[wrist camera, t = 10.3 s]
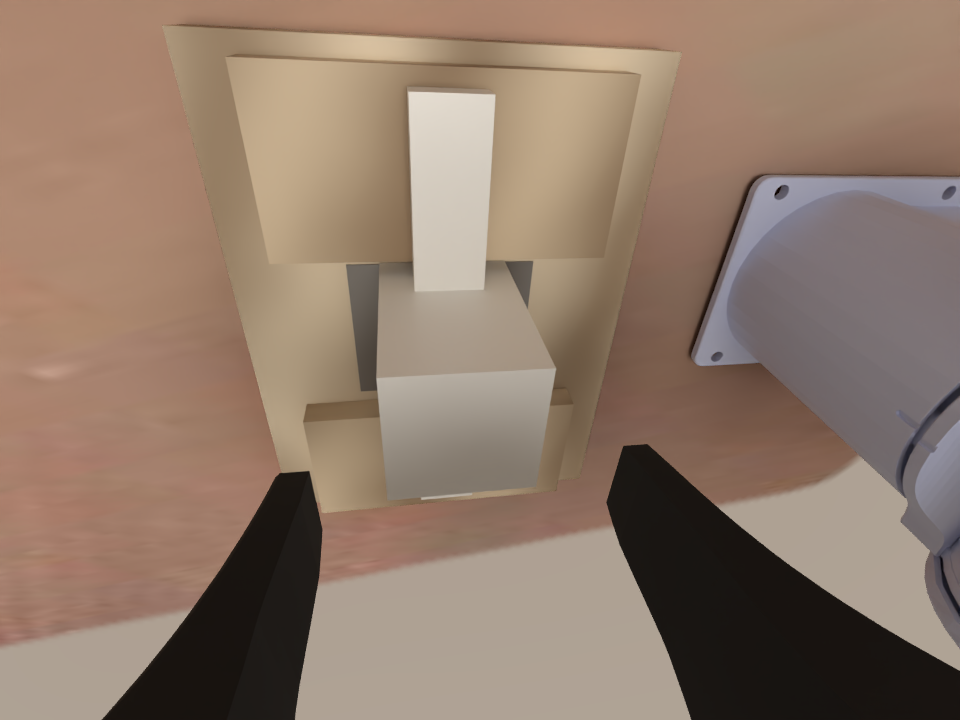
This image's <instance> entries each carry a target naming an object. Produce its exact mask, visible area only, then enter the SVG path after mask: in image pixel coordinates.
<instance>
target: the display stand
mask: <svg viewBox="0 0 960 720" xmlns="http://www.w3.org/2000/svg"><path fill="white" fill-rule="evenodd" d="M162 28H163V31H164V35H165V39H166V43H167V46H168V50H169V54H170V58H171V61H172V65H173V69H174V72H175V76H176V80H177V84H178V87H179V91H180V95H181V99H182V102H183V106H184V110H185V114H186V117H187V121H188V125H189V129H190V132H191V136H192V140H193V144H194V147H195V151H196V155H197V158H198V162H199V166H200V170H201V173H202V177H203V181H204V185H205V188H206V192H207V196H208V200H209V203H210V207H211V211H212V215H213V218H214V222H215V226H216V229H217V233H218V237H219V241H220V244H221V248H222V252H223V256H224V259H225V263H226V267H227V271H228V274H229V278H230V282H231V286H232V289H233V293H234V297H235V301H236V304H237V308H238V312H239V315H240V319H241V323H242V327H243V330H244V334H245V338H246V342H247V345H248V349H249V353H250V357H251V360H252V364H253V368H254V372H255V375H256V379H257V383H258V387H259V390H260V394H261V398H262V401H263V405H264V409H265V413H266V416H267V420H268V424H269V428H270V431H271V435H272V439H273V443H274V446H275V450H276V454H277V458H278V461H279V465H280V469H281V472H282V473H289V472H302V471H310V476H311V480H312V485H313V489H314V494H315V498H316V502H320V505H321V509H322V513H328V512H339V511H350V510H360V509H371V508H381V507H392V506H402V505H413V504H423V503H434V502H445V501H455V500H466V499H476V498H487V497H497V496H508V495H518V494H529V493H540V492H550V491H556V489H557V484H558V480H567V479H578V478H580V474H581V470H582V466H583V461H584V457H585V453H586V449H587V445H588V441H589V436H590V432H591V428H592V424H593V420H594V416H595V411H596V407H597V403H598V399H599V395H600V391H601V386H602V382H603V378H604V374H605V370H606V366H607V362H608V357H609V353H610V349H611V345H612V341H613V337H614V332H615V328H616V324H617V320H618V316H619V312H620V307H621V303H622V299H623V295H624V291H625V287H626V282H627V278H628V274H629V270H630V266H631V262H632V257H633V253H634V249H635V245H636V241H637V237H638V233H639V228H640V224H641V220H642V216H643V212H644V208H645V203H646V199H647V195H648V191H649V187H650V183H651V178H652V174H653V170H654V166H655V162H656V158H657V153H658V149H659V145H660V141H661V137H662V133H663V128H664V124H665V120H666V116H667V112H668V108H669V103H670V99H671V95H672V91H673V87H674V83H675V79H676V74H677V70H678V66H679V62H680V58H681V54H682V52H678V51H670V50H662V49H649V48H630V47H610V46H591V45H572V44H553V43H533V42H514V41H495V40H476V39H456V38H437V37H418V36H399V35H379V34H360V33H341V32H322V31H303V30H283V29H264V28H245V27H226V26H206V25H187V24H180V25H162ZM407 86H412V87H439V88H467V89H489V90H490V91H491V92H493V93H494V94H495V95H496V96H495V113H494V130H493V147H492V164H491V181H490V198H489V215H488V232H487V250H486V261H505V263H506V265H507V267H508V269H509V271H510V273H511V276H512V278H513V280H514V282H515V284H516V286H517V288H518V290H519V292H520V294H521V296H522V298H523V301H524V303H525V305H526V307H527V309H528V311H529V313H530V315H531V317H532V319H533V321H534V323H535V326H536V328H537V330H538V332H539V334H540V336H541V338H542V340H543V342H544V344H545V346H546V348H547V350H548V353H549V355H550V357H551V359H552V361H553V363H554V365H555V367H556V372H555V378H554V384H553V390H552V396H551V401H550V407H549V413H548V419H547V425H546V431H545V437H544V443H543V449H542V455H541V461H540V467H539V472H538V478H537V484H536V487H529V488H518V489H507V490H497V491H486V492H475V493H472V495H469V496H458V497H448V498H437V499H426V500H421V498H410V499H399V500H387V490H386V479H385V468H384V457H383V446H382V435H381V424H380V413H379V402H378V391H377V380H376V372H377V335H378V299H379V263H413V259H412V229H411V198H410V167H409V137H408V106H407Z"/></svg>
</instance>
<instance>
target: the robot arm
mask: <svg viewBox="0 0 960 720" xmlns="http://www.w3.org/2000/svg"><path fill="white" fill-rule="evenodd" d="M781 185H782V187H781V190H780V192H779V193H778V194H777V195H776V196H774V195H775V191H776V190H777V188H779V187H780V186H781ZM716 352H717V353H716ZM714 353H716V354H715V355H714V356H712V355H713V354H714ZM691 358H692V360H693V361H694V362H695V363H696V364H697V365H698V366H713V365H731V364H749V363H761V364H762V365H763V366H764V367H765V368H766V369H767V370H768V371H769V372H770V373H772V374H773V375H774V376H775V377H776V378H777V379H778V380H779V381H780V382H781V383H782V384H783V385H784V386H785V387H787V388H788V389H789V390H790V391H791V392H792V393H793V394H794V395H795V396H796V397H797V398H798V399H799V400H801V401H802V402H803V403H804V404H805V405H806V406H807V407H808V408H809V409H810V410H811V411H812V412H813V413H814V414H816V415H817V416H818V417H819V418H820V419H821V420H822V421H823V422H824V423H825V424H826V425H827V426H828V427H830V428H831V429H832V430H833V431H834V432H835V433H836V434H837V435H838V436H839V437H840V438H841V439H842V440H844V441H845V442H846V443H847V444H848V445H849V446H850V447H851V448H852V449H853V450H854V451H855V452H856V453H857V454H859V455H860V456H861V457H862V458H863V459H864V460H865V461H866V462H867V463H868V464H869V465H870V466H871V467H873V468H874V469H875V470H876V471H877V472H878V473H879V474H880V475H881V476H882V477H883V478H884V479H885V480H886V481H888V482H889V483H890V484H891V485H892V486H893V487H894V488H895V489H896V490H897V491H898V492H899V493H900V494H902V495H903V496H904V497H905V498H907V501H908V507H907V509H906V511H905V513H904V515H903V516H902V518H901V523H902V524H903V525H904V526H905V527H907V529H909V531H911V532H912V533H913V534H914V535H915V536H916V537H917V538H918V539H919V540H920V541H921V542H922V543H923V544H924V545H925V546H926V547H927V548H928V549H929V550H930V553H929V556H928V558H927V561H926V565H925V582H926V588H927V593H928V595H929V598H930V600H931V603H932V605H933V608H934V610H935V612H936V614H937V615H938V617H939V619H940V621H941V622H942V624H943V626H944V628H945V629H946V631H947V632H948V633H949V635H950V636H951V637H952V639H953V640H954V641H955V643H956V644H957V646H958V647H959V648H960V177H936V176H832V175H765V176H762V177H760V178H759V179H757V180H756V181H755V182H754V183H753V185H752V187H751V189H750V191H749V194H748V197H747V199H746V202H745V205H744V208H743V211H742V213H741V216H740V219H739V222H738V225H737V227H736V230H735V233H734V236H733V239H732V241H731V244H730V247H729V250H728V253H727V255H726V258H725V261H724V264H723V267H722V270H721V272H720V275H719V278H718V281H717V284H716V286H715V289H714V292H713V295H712V298H711V300H710V303H709V306H708V309H707V312H706V314H705V317H704V320H703V323H702V326H701V328H700V331H699V334H698V337H697V340H696V343H695V345H694V348H693V351H692V354H691ZM606 503H607V506H608V509H609V513H610V516H611V519H612V523H613V526H614V529H615V532H616V535H617V538H618V541H619V544H620V546H621V548H622V551H623V553H624V555H625V558H626V559H627V562H628V564H629V566H630V569H631V571H632V573H633V575H634V578H635V580H636V582H637V584H638V586H639V588H640V591H641V593H642V595H643V597H644V599H645V601H646V604H647V606H648V608H649V610H650V612H651V615H652V617H653V619H654V621H655V623H656V626H657V628H658V630H659V632H660V634H661V637H662V639H663V642H664V644H665V646H666V649H667V651H668V654H669V656H670V659H671V662H672V665H673V668H674V670H675V673H676V676H677V679H678V682H679V685H680V687H681V690H682V693H683V696H684V699H685V702H686V705H687V708H688V711H689V714H690V717H691V720H960V671H959V670H957V669H955V668H953V667H952V666H950V665H948V664H946V663H944V662H943V661H941V660H939V659H937V658H936V657H934V656H932V655H930V654H928V653H927V652H925V651H923V650H921V649H919V648H918V647H916V646H914V645H912V644H910V643H909V642H907V641H905V640H904V639H902V638H900V637H899V636H897V635H895V634H894V633H892V632H890V631H888V630H887V629H885V628H883V627H881V626H880V625H879V624H877V623H875V622H874V621H872V620H871V619H869V618H867V617H866V616H864V615H863V614H861V613H859V612H858V611H856V610H855V609H853V608H852V607H850V606H848V605H847V604H845V603H843V602H842V601H841V600H839V599H837V598H836V597H834V596H833V595H832V594H830V593H828V592H827V591H826V590H824V589H822V588H821V587H820V586H818V585H817V584H815V583H814V582H813V581H811V580H810V579H808V578H807V577H806V576H804V575H803V574H801V573H800V572H798V571H797V570H796V569H794V568H793V567H791V566H790V565H789V564H787V563H786V562H784V561H783V560H782V559H781V558H779V557H778V556H776V555H775V554H774V553H772V552H771V551H770V550H769V549H767V548H766V547H765V546H764V545H763V544H761V543H760V542H759V541H757V540H756V539H755V538H754V537H752V536H751V535H750V534H749V533H747V532H746V531H745V530H744V529H742V528H741V527H740V526H739V525H738V524H736V523H735V522H734V521H733V520H732V519H730V518H729V517H728V516H727V515H726V514H725V513H723V512H722V511H721V510H720V509H719V508H718V507H717V506H715V505H714V504H713V503H712V502H711V501H710V500H708V499H707V498H706V497H705V496H704V495H703V494H702V493H701V492H700V491H698V490H697V489H696V488H695V487H694V486H693V485H692V484H691V483H690V482H688V481H687V480H686V479H685V478H684V477H683V476H682V475H681V474H680V473H679V472H677V471H676V470H675V469H674V468H673V467H672V466H671V465H670V464H669V463H668V462H667V461H665V460H664V459H663V458H662V457H661V456H660V455H659V454H658V453H657V452H656V451H654V450H653V449H652V448H651V447H650V446H649V445H648V444H644V445H631V446H623V449H622V452H621V456H620V459H619V462H618V466H617V469H616V472H615V476H614V479H613V482H612V486H611V489H610V492H609V496H608V499H607V502H606ZM321 544H322V526H321V521H320V517H319V512H318V508H317V503H316V498H315V494H314V489H313V485H312V480H311V476H310V471H302V472H289V473H280V474H279V475H278V476H276V477H275V479H274V481H273V483H272V485H271V487H270V489H269V491H268V492H267V494H266V496H265V498H264V500H263V501H262V503H261V505H260V507H259V508H258V510H257V512H256V514H255V515H254V517H253V519H252V520H251V522H250V524H249V525H248V527H247V529H246V530H245V532H244V534H243V535H242V537H241V538H240V540H239V541H238V543H237V544H236V546H235V548H234V549H233V551H232V552H231V554H230V555H229V557H228V558H227V560H226V562H225V563H224V565H223V566H222V568H221V569H220V571H219V572H218V574H217V575H216V576H215V578H214V579H213V581H212V582H211V584H210V585H209V586H208V588H207V589H206V591H205V592H204V593H203V595H202V596H201V598H200V599H199V600H198V602H197V603H196V605H195V606H194V607H193V609H192V610H191V612H190V613H189V614H188V616H187V617H186V618H185V620H184V621H183V623H182V624H181V625H180V626H179V628H178V629H177V631H176V632H175V633H174V634H173V635H172V637H171V638H170V639H169V641H168V642H167V643H166V644H165V646H164V647H163V648H162V649H161V651H160V652H159V653H158V654H157V656H156V657H155V658H154V659H153V661H152V662H151V663H150V664H149V665H148V667H147V668H146V669H145V671H144V672H143V673H142V674H141V675H140V676H139V677H138V679H137V680H136V681H135V682H134V683H133V684H132V686H131V687H130V688H129V689H128V690H127V691H126V693H125V694H124V695H123V696H122V697H121V698H120V700H119V701H118V702H117V703H116V704H115V706H113V708H112V709H111V710H110V711H109V712H108V713H107V715H106V716H105V717H104V718H103V719H102V720H295V712H296V705H297V698H298V691H299V684H300V680H301V674H302V668H303V663H304V658H305V651H306V646H307V641H308V635H309V630H310V625H311V619H312V614H313V608H314V603H315V597H316V591H317V586H318V580H319V572H320V559H321Z"/></svg>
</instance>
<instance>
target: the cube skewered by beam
mask: <svg viewBox="0 0 960 720" xmlns="http://www.w3.org/2000/svg"><path fill="white" fill-rule="evenodd" d="M495 96H496V95H495V94H494V93H493V92H491V91H490V90H489V89H467V88H439V87H412V86H407V106H408V137H409V167H410V198H411V229H412V259H413V263H379V299H378V335H377V372H376V380H377V391H378V402H379V413H380V424H381V435H382V446H383V457H384V468H385V479H386V490H387V500H399V499H410V498H421V500H426V499H437V498H448V497H458V496H469V495H472V493H475V492H486V491H497V490H507V489H518V488H529V487H536V484H537V478H538V472H539V467H540V461H541V455H542V449H543V443H544V437H545V431H546V425H547V419H548V413H549V407H550V401H551V396H552V390H553V384H554V378H555V372H556V367H555V365H554V363H553V361H552V359H551V357H550V355H549V353H548V350H547V348H546V346H545V344H544V342H543V340H542V338H541V336H540V334H539V332H538V330H537V328H536V326H535V323H534V321H533V319H532V317H531V315H530V313H529V311H528V309H527V307H526V305H525V303H524V301H523V298H522V296H521V294H520V292H519V290H518V288H517V286H516V284H515V282H514V280H513V278H512V276H511V273H510V271H509V269H508V267H507V265H506V263H505V261H486V250H487V232H488V215H489V198H490V181H491V164H492V147H493V130H494V113H495Z"/></svg>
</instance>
